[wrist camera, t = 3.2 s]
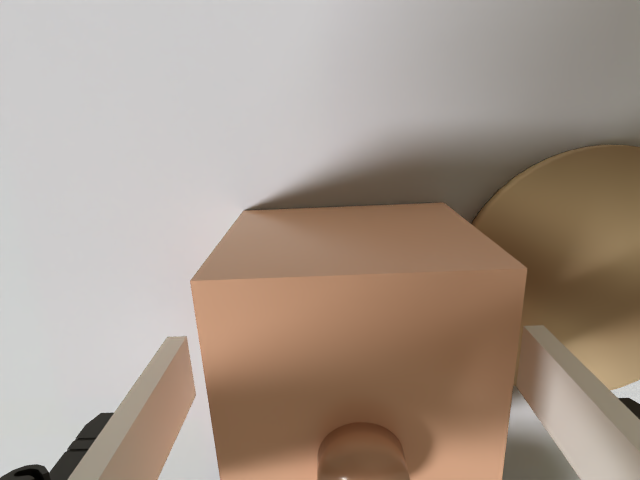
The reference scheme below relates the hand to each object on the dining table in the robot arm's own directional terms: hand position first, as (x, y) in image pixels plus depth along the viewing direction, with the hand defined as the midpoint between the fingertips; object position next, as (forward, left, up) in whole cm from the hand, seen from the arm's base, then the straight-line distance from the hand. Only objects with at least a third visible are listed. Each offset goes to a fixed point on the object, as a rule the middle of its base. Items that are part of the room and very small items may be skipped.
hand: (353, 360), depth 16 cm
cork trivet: (-2, +10, -2) cm, 10 cm away
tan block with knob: (0, 0, -2) cm, 2 cm away
